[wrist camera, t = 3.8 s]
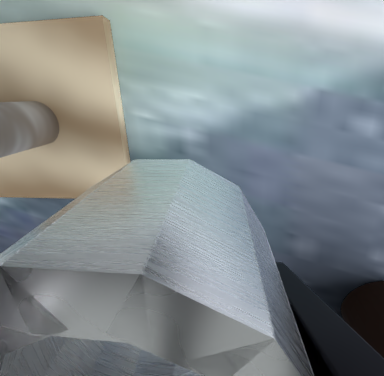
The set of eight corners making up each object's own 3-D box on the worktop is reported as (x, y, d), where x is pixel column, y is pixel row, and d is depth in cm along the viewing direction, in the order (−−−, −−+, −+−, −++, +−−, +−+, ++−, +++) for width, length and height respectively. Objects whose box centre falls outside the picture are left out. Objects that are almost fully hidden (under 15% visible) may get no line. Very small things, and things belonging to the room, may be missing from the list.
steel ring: (254, 315, 10) (287, 516, 5) (101, 303, 10) (10, 468, 6) (271, 159, 7) (378, 288, 2) (63, 159, 8) (-165, 255, 3)
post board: (135, 194, 18) (100, 236, 13) (6, 192, 20) (-75, 229, 14) (109, 20, 14) (38, -28, 8) (-56, 33, 15) (-211, -1, 10)
